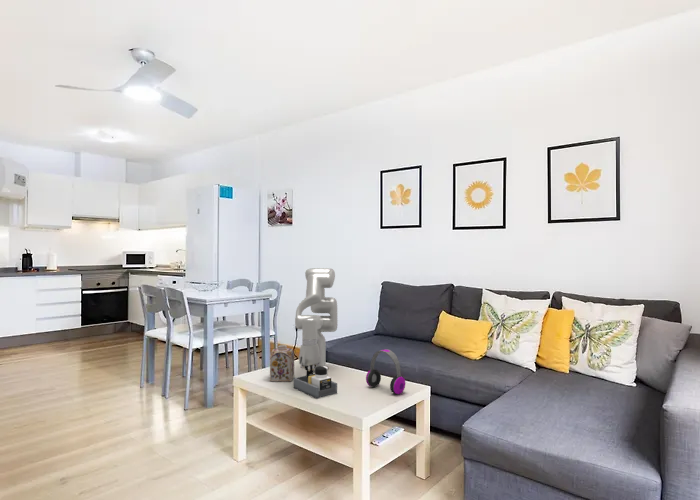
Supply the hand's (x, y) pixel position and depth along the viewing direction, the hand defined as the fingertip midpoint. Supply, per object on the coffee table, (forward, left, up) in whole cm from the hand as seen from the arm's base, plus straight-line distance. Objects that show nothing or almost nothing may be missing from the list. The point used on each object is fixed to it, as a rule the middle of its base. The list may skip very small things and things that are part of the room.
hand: (309, 378), depth 217 cm
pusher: (+4, 0, -4) cm, 6 cm away
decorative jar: (-24, -2, -5) cm, 25 cm away
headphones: (+26, +28, -5) cm, 39 cm away
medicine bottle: (+10, 0, -4) cm, 11 cm away
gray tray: (+4, 0, -5) cm, 7 cm away
